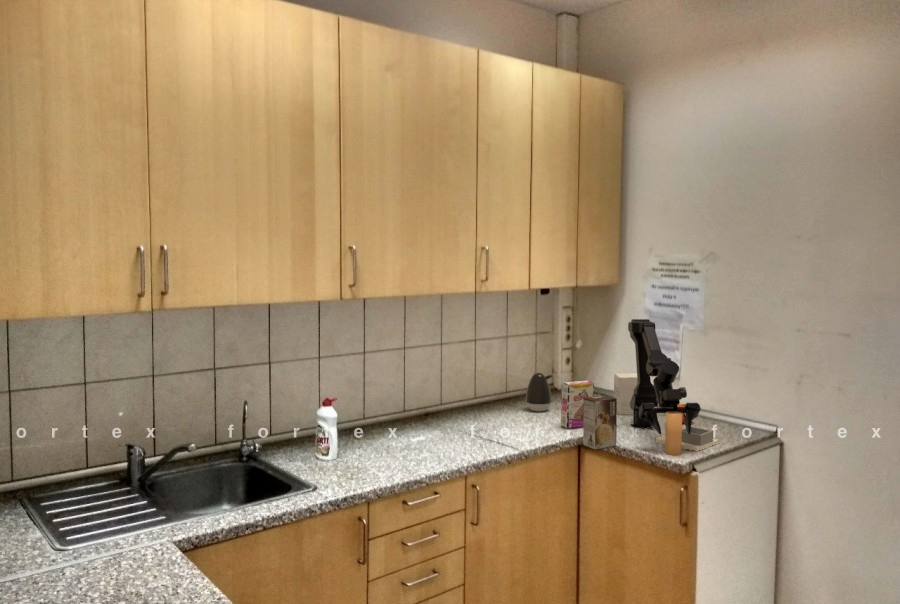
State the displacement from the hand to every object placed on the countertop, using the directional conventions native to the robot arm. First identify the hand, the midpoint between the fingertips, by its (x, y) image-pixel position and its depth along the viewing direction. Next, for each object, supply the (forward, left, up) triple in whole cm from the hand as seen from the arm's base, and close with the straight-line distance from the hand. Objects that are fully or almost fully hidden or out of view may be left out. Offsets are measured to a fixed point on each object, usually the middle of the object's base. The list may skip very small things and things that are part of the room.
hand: (674, 433), depth 227 cm
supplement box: (-42, +37, -7) cm, 56 cm away
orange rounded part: (-1, +1, -7) cm, 7 cm away
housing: (-4, +15, -7) cm, 17 cm away
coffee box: (-22, -9, -7) cm, 25 cm away
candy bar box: (-42, +5, -7) cm, 43 cm away
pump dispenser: (-68, +14, -7) cm, 70 cm away
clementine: (-19, +39, -7) cm, 44 cm away
